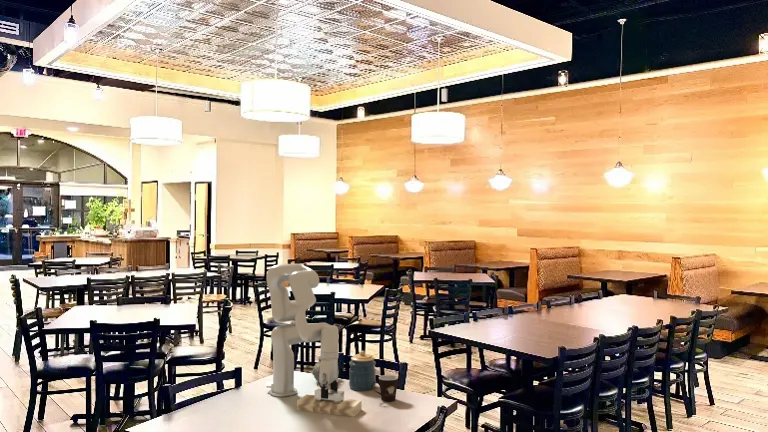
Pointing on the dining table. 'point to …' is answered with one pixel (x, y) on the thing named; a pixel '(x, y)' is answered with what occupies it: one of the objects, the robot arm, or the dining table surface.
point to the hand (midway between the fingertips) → (329, 395)
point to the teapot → (317, 370)
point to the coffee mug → (387, 387)
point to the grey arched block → (330, 395)
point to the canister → (362, 372)
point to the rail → (329, 406)
